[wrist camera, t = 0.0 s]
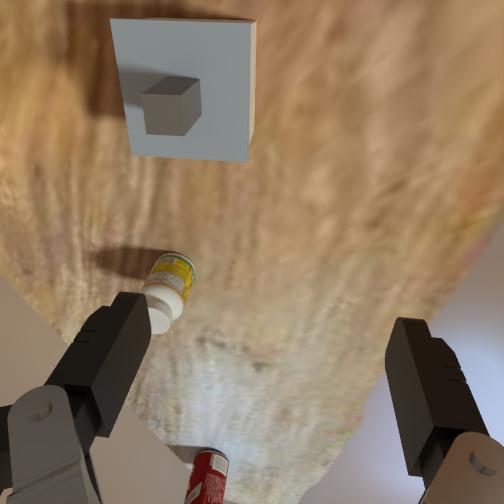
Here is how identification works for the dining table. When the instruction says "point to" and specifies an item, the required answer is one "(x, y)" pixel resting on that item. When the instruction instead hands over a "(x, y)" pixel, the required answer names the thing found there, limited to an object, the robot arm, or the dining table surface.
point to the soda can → (207, 478)
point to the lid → (185, 87)
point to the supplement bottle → (167, 289)
